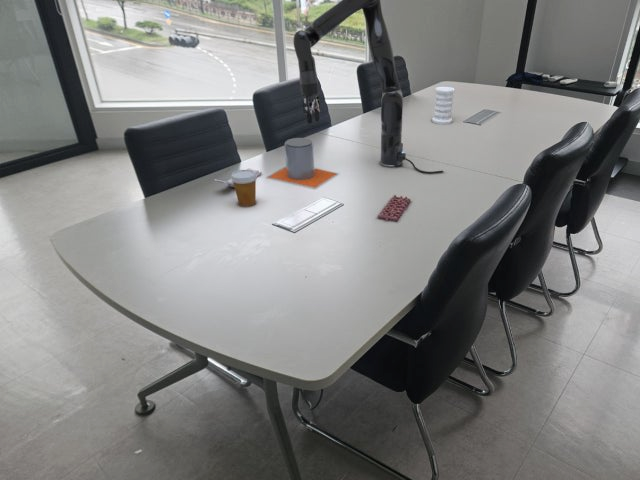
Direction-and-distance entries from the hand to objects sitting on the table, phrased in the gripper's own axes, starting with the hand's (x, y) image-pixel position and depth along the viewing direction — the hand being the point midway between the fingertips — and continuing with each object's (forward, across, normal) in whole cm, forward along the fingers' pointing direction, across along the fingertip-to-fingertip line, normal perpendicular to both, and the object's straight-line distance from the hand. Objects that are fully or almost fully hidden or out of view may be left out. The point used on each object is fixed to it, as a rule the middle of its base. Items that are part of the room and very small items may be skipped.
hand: (314, 122), depth 221 cm
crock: (+21, -10, +5) cm, 24 cm away
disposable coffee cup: (+25, -43, +14) cm, 51 cm away
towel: (+21, -10, +4) cm, 24 cm away
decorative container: (+13, +91, -42) cm, 101 cm away
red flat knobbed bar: (+31, -32, -42) cm, 61 cm away
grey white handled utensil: (+20, -26, +26) cm, 42 cm away
